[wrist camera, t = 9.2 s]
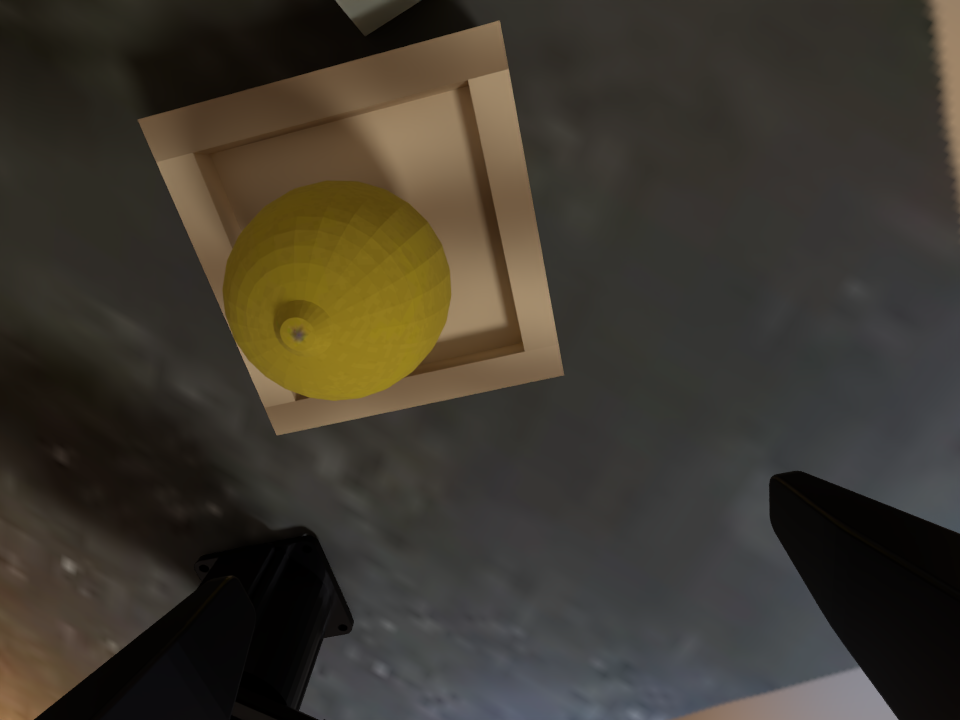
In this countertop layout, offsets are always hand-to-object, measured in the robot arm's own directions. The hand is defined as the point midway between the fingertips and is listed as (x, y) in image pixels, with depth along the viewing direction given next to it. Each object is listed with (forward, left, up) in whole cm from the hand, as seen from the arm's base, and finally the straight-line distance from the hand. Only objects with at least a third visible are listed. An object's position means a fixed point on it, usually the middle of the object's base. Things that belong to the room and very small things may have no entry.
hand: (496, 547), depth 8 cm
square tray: (+4, +3, -13) cm, 14 cm away
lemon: (+4, +3, -11) cm, 12 cm away
